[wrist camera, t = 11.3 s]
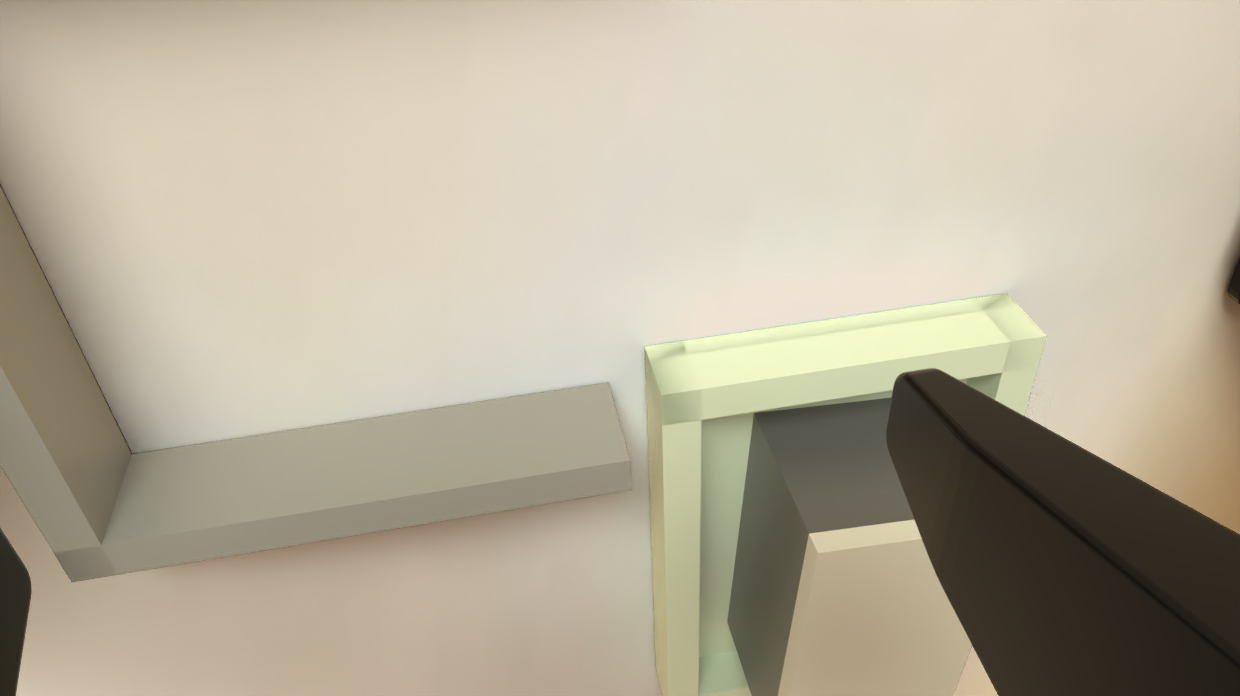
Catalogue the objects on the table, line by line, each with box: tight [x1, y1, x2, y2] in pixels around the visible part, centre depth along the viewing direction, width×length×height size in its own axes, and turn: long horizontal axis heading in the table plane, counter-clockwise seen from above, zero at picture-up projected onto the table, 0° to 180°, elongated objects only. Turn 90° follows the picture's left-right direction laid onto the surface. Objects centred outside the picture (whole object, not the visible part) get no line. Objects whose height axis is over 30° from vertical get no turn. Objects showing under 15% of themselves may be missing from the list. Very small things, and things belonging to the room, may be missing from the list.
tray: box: [645, 293, 1047, 696], centre depth 28 cm, size 10×14×2 cm
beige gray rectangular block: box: [727, 398, 972, 696], centre depth 27 cm, size 5×9×5 cm, turn 0°
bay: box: [0, 186, 632, 582], centre depth 19 cm, size 13×16×3 cm
